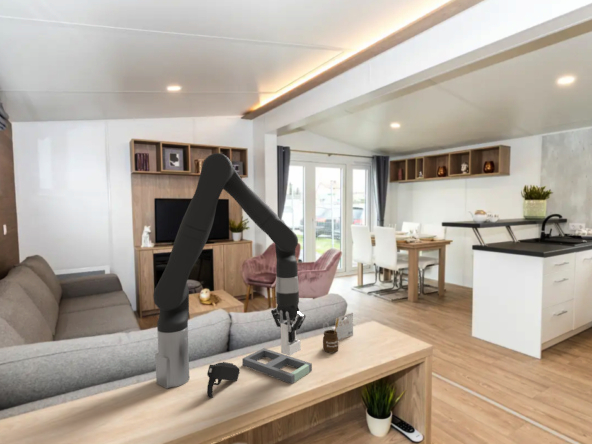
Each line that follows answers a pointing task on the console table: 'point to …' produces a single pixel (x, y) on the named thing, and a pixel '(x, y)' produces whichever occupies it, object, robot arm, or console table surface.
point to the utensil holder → (330, 339)
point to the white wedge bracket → (285, 344)
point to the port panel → (277, 365)
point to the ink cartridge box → (344, 326)
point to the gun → (221, 375)
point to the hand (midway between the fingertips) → (288, 340)
